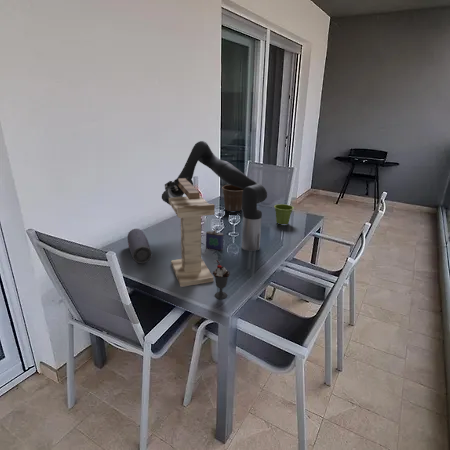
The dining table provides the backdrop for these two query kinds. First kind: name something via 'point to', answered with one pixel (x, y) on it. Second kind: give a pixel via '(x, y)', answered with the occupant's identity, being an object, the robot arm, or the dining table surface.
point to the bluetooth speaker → (139, 246)
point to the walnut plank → (188, 189)
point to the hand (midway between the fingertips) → (183, 180)
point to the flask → (214, 240)
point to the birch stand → (191, 240)
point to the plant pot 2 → (283, 213)
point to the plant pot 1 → (232, 197)
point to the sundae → (221, 280)
